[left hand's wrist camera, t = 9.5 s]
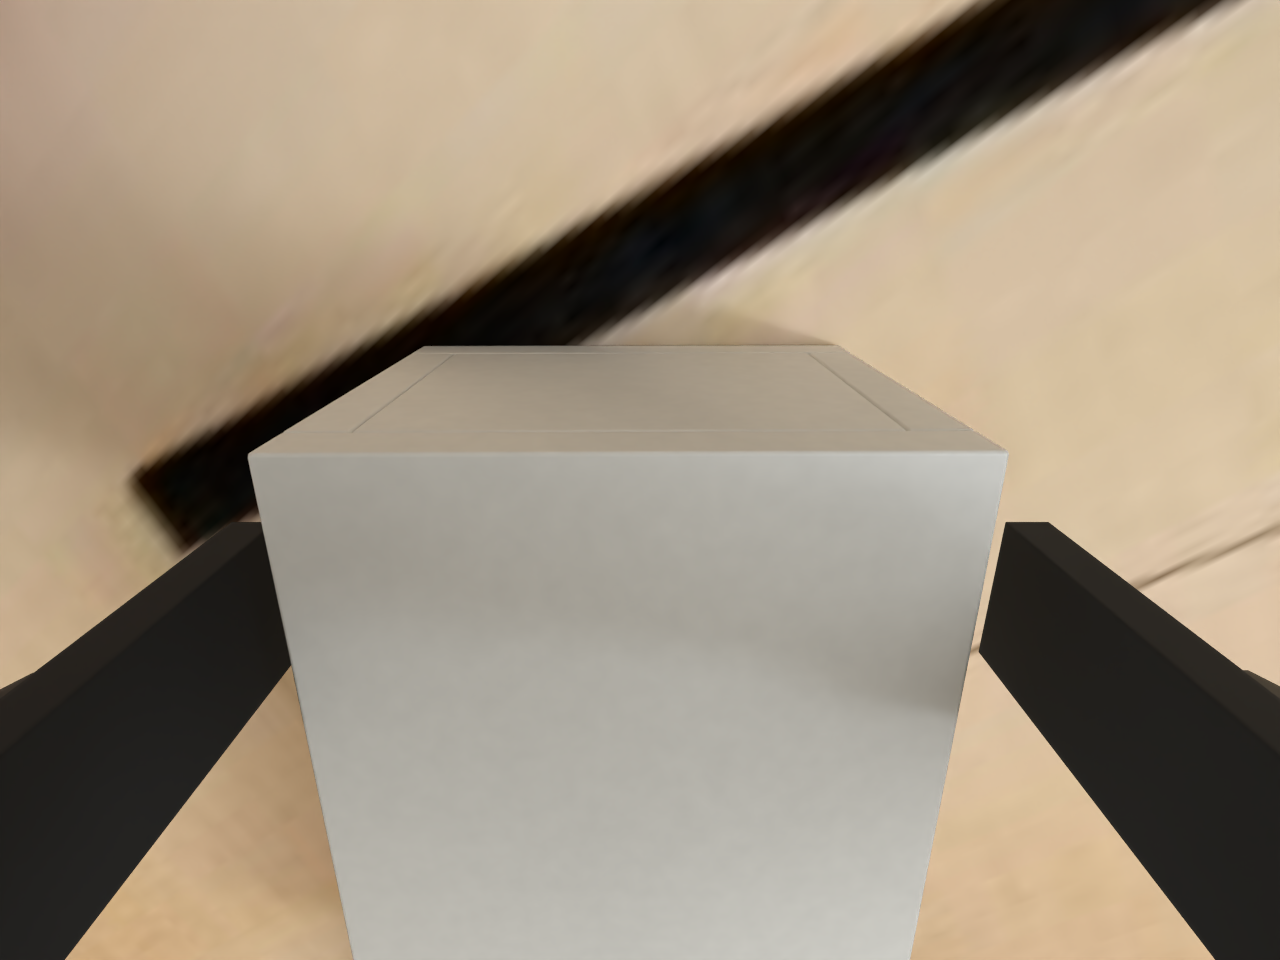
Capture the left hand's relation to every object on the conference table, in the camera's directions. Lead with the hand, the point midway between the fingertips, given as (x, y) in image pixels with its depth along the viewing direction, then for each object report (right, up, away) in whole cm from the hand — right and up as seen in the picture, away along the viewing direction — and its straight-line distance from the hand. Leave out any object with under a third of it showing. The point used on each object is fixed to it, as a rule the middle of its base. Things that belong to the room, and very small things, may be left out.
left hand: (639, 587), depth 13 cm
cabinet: (0, -4, +8) cm, 9 cm away
